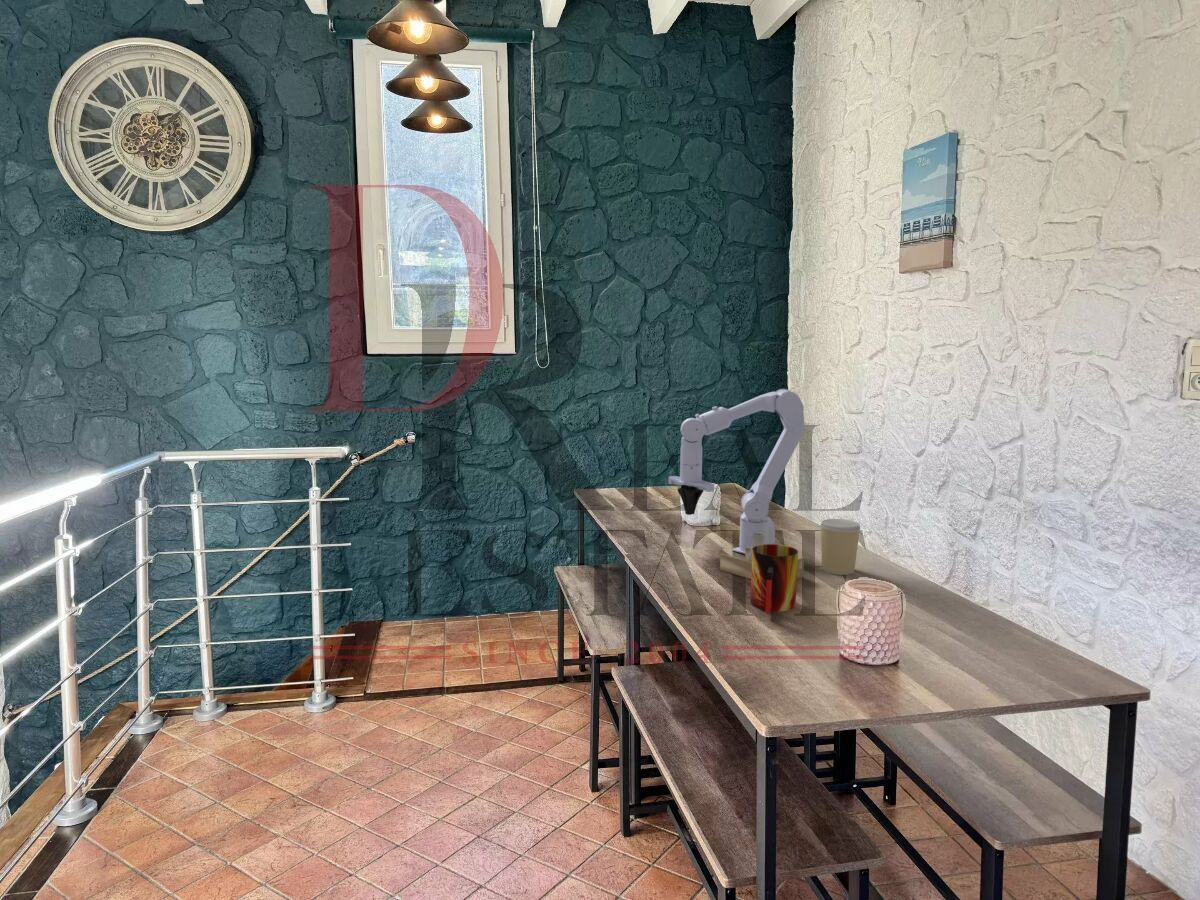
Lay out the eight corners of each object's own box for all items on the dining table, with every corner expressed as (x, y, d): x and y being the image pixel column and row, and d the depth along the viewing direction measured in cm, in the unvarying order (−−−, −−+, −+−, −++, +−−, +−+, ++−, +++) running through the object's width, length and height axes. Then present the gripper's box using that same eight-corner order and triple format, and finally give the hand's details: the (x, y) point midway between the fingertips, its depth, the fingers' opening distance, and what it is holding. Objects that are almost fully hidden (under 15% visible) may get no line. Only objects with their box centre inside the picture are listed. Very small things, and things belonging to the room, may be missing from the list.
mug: (765, 619, 165) (768, 563, 163) (744, 597, 179) (746, 544, 177) (810, 617, 167) (813, 561, 165) (785, 595, 180) (787, 543, 178)
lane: (747, 561, 206) (747, 542, 205) (803, 577, 193) (804, 557, 192) (719, 569, 199) (720, 550, 198) (776, 586, 186) (777, 565, 185)
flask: (766, 580, 191) (767, 539, 189) (737, 575, 194) (738, 535, 193) (775, 572, 197) (777, 532, 195) (747, 567, 201) (748, 528, 199)
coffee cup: (860, 567, 201) (862, 520, 199) (854, 578, 193) (857, 529, 191) (821, 562, 205) (824, 516, 203) (815, 572, 197) (817, 525, 195)
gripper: (660, 461, 215) (659, 511, 217) (701, 469, 204) (700, 521, 206) (679, 459, 220) (677, 507, 222) (719, 466, 209) (718, 517, 211)
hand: (689, 514), depth 214 cm, fingers closed
